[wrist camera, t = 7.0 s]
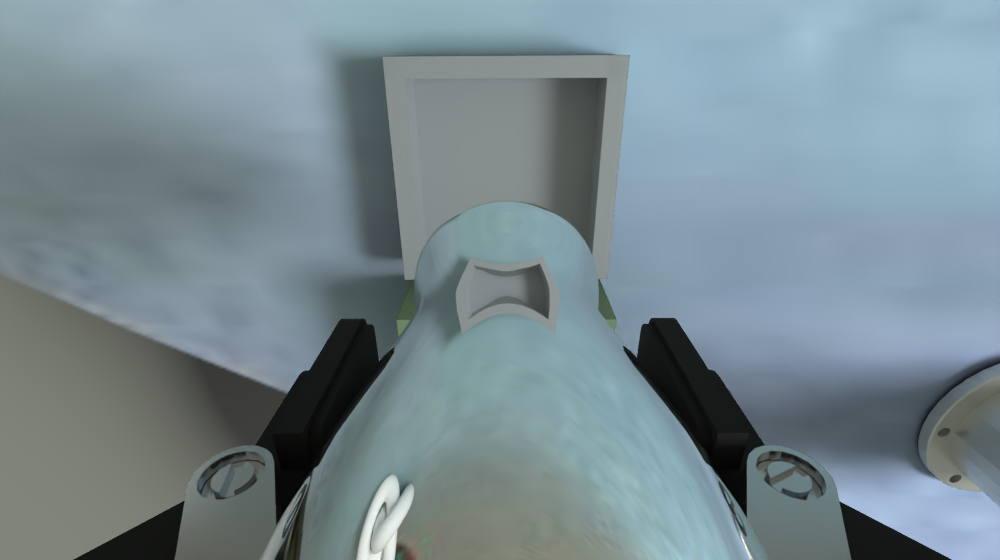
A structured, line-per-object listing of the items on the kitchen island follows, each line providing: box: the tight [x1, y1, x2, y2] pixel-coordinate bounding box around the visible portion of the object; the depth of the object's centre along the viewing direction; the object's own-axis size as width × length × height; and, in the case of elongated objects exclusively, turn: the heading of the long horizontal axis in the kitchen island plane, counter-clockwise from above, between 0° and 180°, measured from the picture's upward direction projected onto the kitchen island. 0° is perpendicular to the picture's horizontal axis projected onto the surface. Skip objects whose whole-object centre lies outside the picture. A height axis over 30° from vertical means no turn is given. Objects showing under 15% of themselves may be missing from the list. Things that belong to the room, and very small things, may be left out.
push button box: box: [382, 55, 630, 337], centre depth 27 cm, size 12×22×8 cm, turn 0°
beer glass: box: [259, 200, 770, 560], centre depth 9 cm, size 7×7×15 cm
